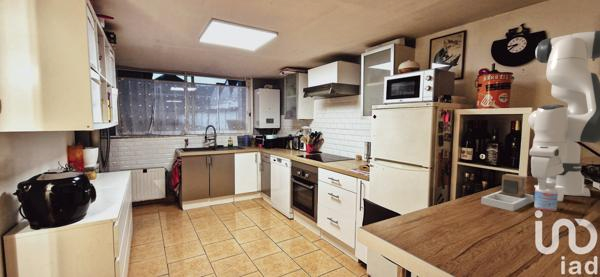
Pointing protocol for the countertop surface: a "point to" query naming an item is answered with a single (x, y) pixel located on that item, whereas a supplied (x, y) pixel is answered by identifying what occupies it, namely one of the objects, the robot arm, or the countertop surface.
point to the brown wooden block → (513, 185)
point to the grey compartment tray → (506, 201)
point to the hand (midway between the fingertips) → (546, 188)
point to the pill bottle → (546, 197)
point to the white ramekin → (560, 192)
